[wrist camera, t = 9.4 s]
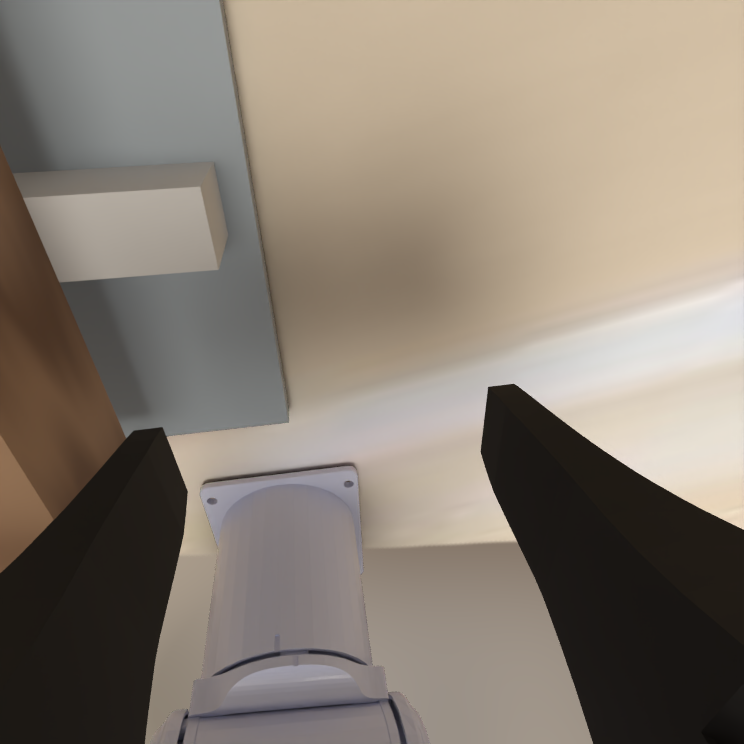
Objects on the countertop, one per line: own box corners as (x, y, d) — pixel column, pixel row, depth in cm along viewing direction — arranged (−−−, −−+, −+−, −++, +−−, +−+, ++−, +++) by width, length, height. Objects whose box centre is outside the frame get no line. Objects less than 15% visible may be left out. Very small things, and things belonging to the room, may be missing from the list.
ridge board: (288, 408, 23) (289, 471, 20) (-30, 443, 22) (-86, 516, 19) (182, -250, 12) (141, -357, 8) (-516, -265, 10) (-892, -400, 7)
